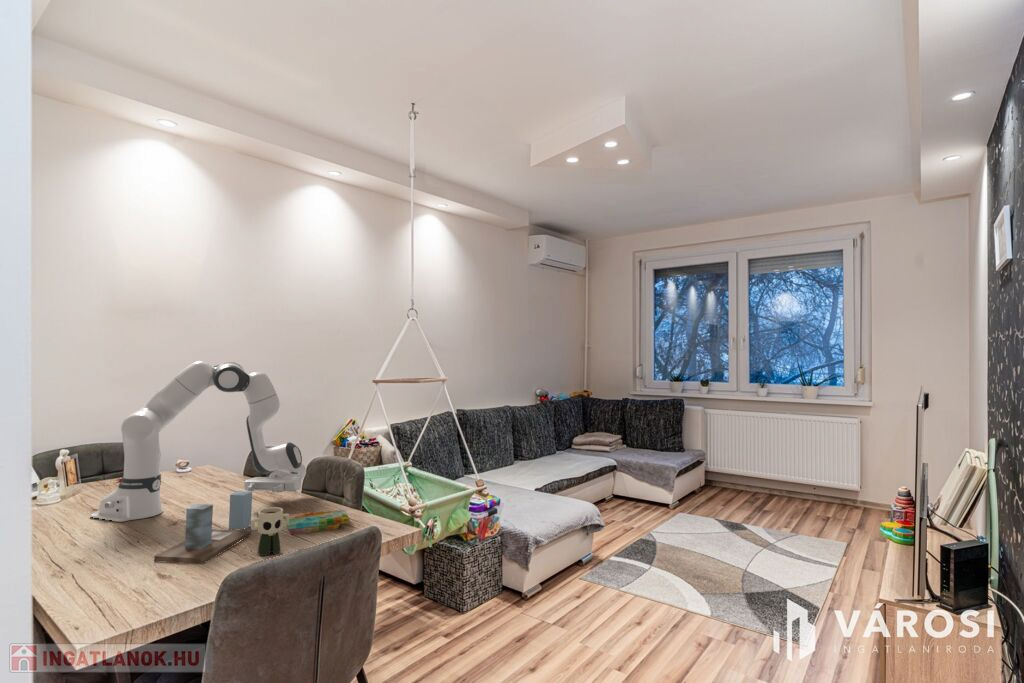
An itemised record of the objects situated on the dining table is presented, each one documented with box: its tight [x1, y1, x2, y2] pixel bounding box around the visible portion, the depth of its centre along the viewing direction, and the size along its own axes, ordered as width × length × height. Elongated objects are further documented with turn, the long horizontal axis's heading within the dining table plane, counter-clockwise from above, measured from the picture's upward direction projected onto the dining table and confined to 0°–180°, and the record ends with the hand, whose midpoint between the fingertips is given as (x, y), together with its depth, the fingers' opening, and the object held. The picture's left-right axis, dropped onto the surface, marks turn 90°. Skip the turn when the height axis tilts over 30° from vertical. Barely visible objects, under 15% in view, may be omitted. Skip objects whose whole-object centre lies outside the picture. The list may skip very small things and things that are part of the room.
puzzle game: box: [286, 509, 350, 535], centre depth 182 cm, size 12×5×20 cm
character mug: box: [250, 506, 290, 556], centre depth 158 cm, size 11×7×13 cm, turn 128°
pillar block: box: [228, 490, 253, 530], centre depth 180 cm, size 5×5×12 cm
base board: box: [153, 503, 252, 564], centre depth 161 cm, size 15×24×14 cm, turn 177°
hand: (261, 489), depth 193 cm, fingers open, 8 cm apart
